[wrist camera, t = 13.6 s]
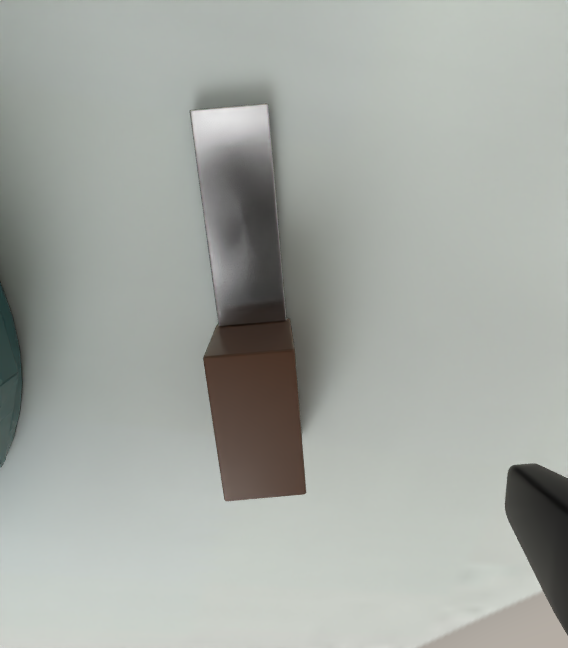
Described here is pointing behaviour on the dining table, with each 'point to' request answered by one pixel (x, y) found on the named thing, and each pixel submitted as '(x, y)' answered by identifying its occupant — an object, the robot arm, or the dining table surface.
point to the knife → (248, 308)
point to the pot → (8, 377)
